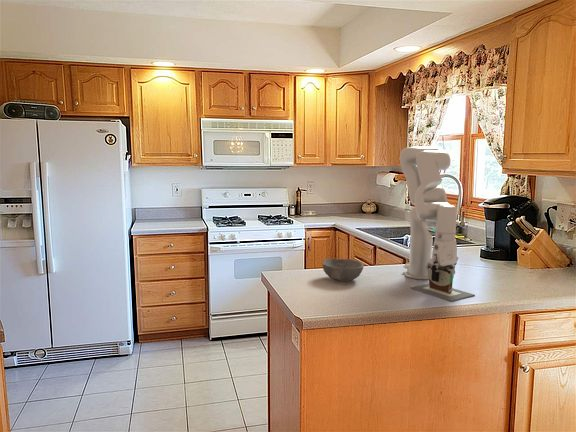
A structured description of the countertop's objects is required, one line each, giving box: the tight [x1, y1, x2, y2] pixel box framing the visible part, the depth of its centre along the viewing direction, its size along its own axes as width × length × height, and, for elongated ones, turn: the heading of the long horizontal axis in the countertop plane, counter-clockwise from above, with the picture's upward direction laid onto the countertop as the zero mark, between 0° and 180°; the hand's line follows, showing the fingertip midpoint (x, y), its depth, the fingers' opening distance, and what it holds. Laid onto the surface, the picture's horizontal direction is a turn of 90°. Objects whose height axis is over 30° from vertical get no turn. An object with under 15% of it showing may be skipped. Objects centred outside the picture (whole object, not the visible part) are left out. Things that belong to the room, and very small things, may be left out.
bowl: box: [322, 258, 365, 282], centre depth 200 cm, size 18×18×8 cm
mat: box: [410, 282, 475, 303], centre depth 185 cm, size 20×14×1 cm
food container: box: [426, 264, 456, 294], centre depth 185 cm, size 12×6×10 cm, turn 34°
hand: (442, 279), depth 184 cm, fingers open, 8 cm apart
